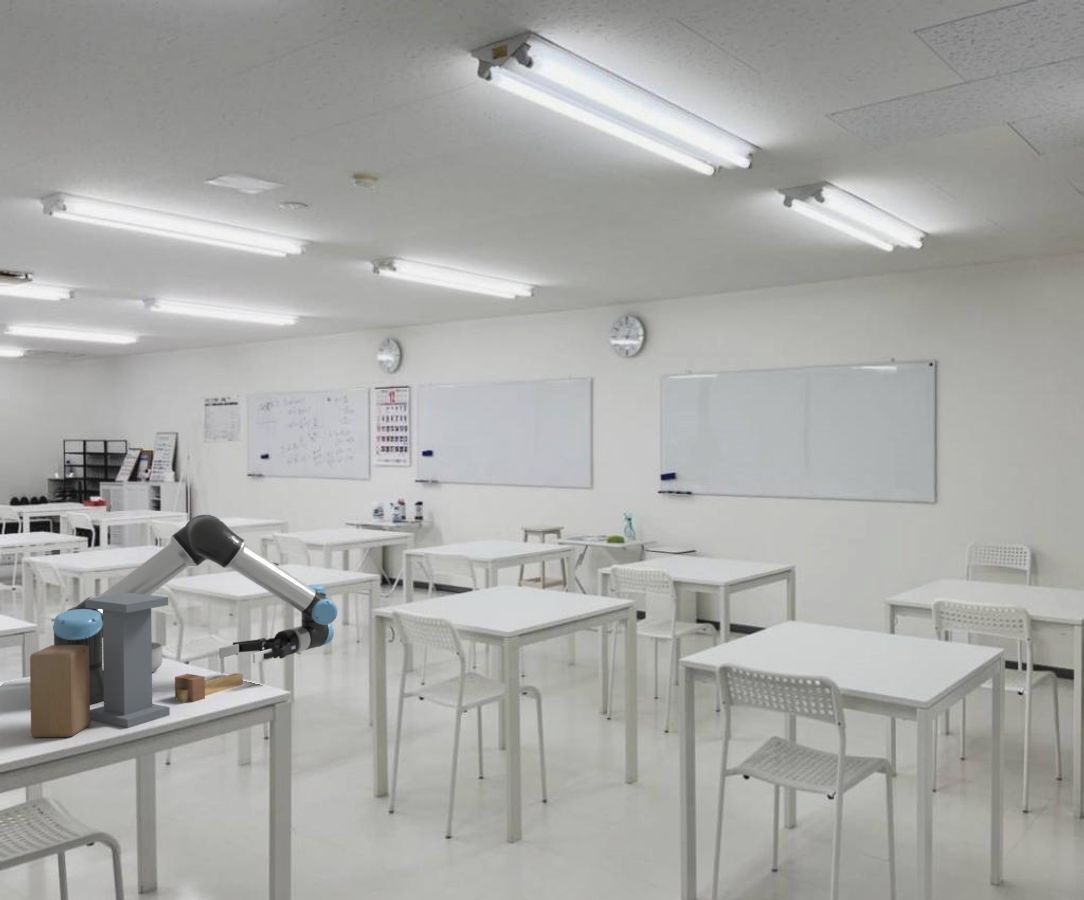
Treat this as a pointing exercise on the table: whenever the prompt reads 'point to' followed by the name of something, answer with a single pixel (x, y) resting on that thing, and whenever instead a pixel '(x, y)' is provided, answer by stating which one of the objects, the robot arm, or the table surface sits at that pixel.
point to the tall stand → (127, 659)
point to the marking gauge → (203, 686)
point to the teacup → (156, 655)
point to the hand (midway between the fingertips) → (236, 655)
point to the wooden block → (60, 690)
